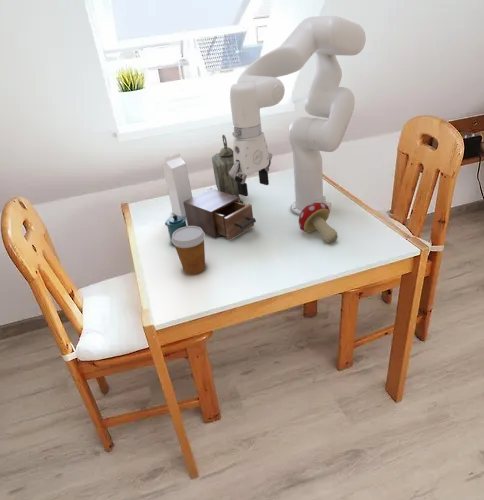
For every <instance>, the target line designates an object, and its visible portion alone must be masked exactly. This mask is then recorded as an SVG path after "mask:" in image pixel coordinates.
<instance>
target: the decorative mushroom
mask: <svg viewBox="0 0 484 500" xmlns="http://www.w3.org/2000/svg"><path fill="white" fill-rule="evenodd" d="M330 212H331V209H330V210H329V207H328V206H327V205H326V204H324V203H317V202H315V203H312V204H309V205H307V206H306V207H305V208H304V209H303V210H302V211H301V213H300V215H298V227H299V229H300V230H301V231H303V232H304V233H311V232H314V231H317V232H318V233H319V234H320V236H321V237H322V239H323V240H324V241H325V243H328V244H332V243H335V242H336V241H337V240H338V238H339V236H338V235H339V234H338V232H337V230H336V229H334V228H333V227H332V226H330V225H329V224H328V223H327V220H329V216H330Z"/></svg>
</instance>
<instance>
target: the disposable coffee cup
mask: <svg viewBox="0 0 484 500" xmlns="http://www.w3.org/2000/svg"><path fill="white" fill-rule="evenodd" d="M205 238H206V234H205V233H204V232H203V230H202V229H201V228H200V227H197V226H188V225H187V226H186V227H182V228H179V229H177V230H176V231H175V232H174V233H173V234H172V239H171V240H170V242H171V241H172V243H173V244H174V245H175V246H174V248H175V250H176V254H177V256H178V258H179V261H180V264H181V266H182V269H183V272H184V273H185V274H186V275H189V276H190V275H198V274H201V273H202V272H204V271H205V269H206V253H205V251H206V249H205Z"/></svg>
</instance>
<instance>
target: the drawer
mask: <svg viewBox="0 0 484 500" xmlns="http://www.w3.org/2000/svg"><path fill="white" fill-rule="evenodd" d="M213 215H214V221H215V227H216V233H218V234H221V235H220V236H224V237H226V240H228V241H231V240H233V239H234V238H236V237H238V236H240V235H241V234H243V233H245V232H247V231H248V230H250V229H251V228H253V227H254V226H255V223H256V222H257V219H256V218H255V217H254V213H253V205H252V204H251V203H248V204H245V203H244V204H242V203H239V202H236V201H235V202H233V203H232V204H230V205H228V206H226V207H224V208H222V209H220V210H218V211H217V212H215V213H213Z"/></svg>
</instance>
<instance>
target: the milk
mask: <svg viewBox="0 0 484 500" xmlns="http://www.w3.org/2000/svg"><path fill="white" fill-rule="evenodd" d="M164 160H165V162H164V163H163V164H162V170H163V175H164V178H165V184H166V187H167V192H168V197H169V202H170V205H171V211H172V214H173V215H177V216H182V217H184V218H186V213H185V208H184V204H183V202H184V201H186V200H188V199H190V198H192V197H193V192H192V187H191V182H190V178H189V172H188V167H187V163H186V161H184V159H183V158H182V157H181V153H179V152H178V153H175V154H172V155H169V156H167V157H165V159H164Z"/></svg>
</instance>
